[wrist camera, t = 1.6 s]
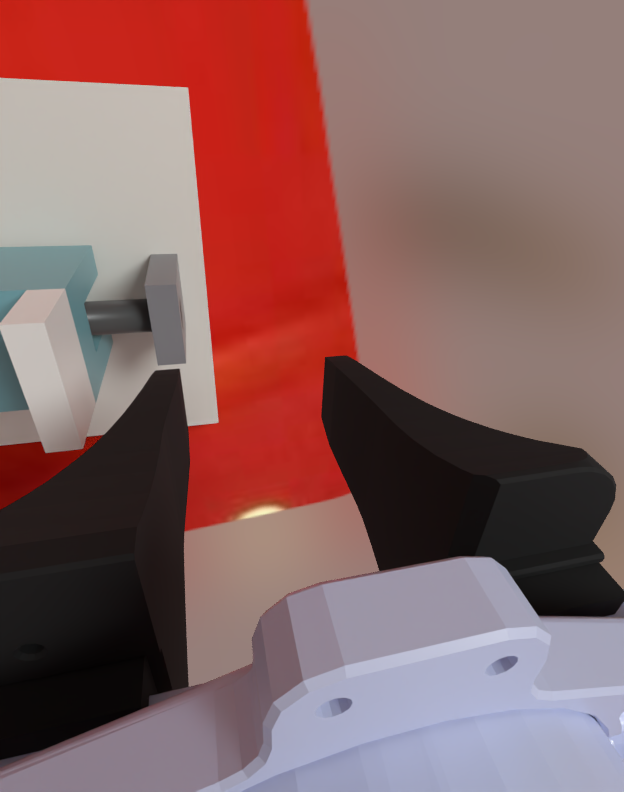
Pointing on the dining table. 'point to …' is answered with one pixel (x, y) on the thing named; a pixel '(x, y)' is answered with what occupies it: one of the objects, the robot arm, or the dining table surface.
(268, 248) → the dining table surface
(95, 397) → the slider block
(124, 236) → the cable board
